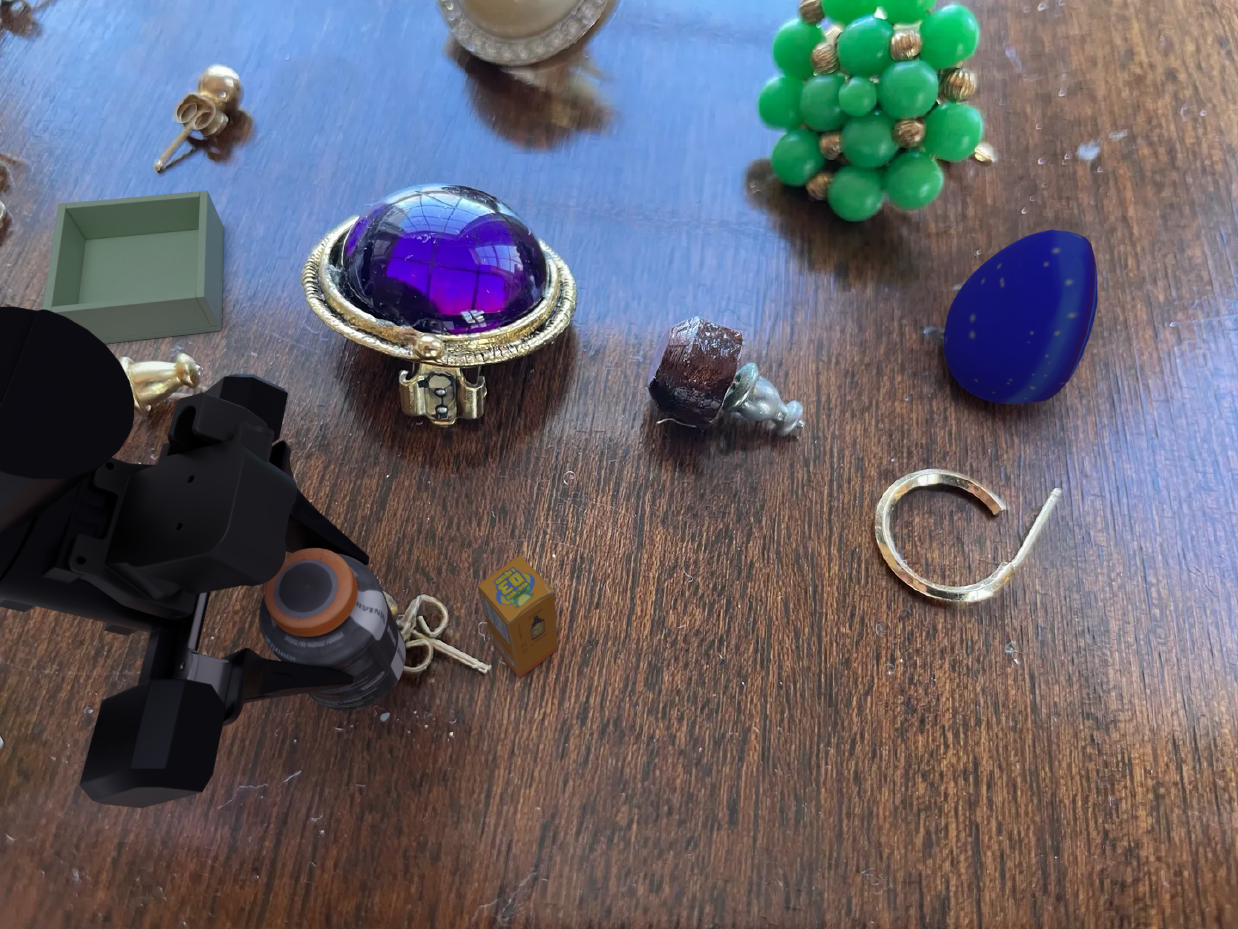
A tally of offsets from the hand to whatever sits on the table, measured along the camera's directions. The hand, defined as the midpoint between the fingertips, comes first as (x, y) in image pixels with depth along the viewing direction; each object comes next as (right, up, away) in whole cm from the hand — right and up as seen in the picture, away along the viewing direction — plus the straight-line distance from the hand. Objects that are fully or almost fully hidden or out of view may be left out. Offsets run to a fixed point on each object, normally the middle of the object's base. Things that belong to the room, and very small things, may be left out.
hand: (357, 621), depth 44 cm
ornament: (+43, +15, +27) cm, 53 cm away
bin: (-25, +22, +26) cm, 42 cm away
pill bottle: (-2, -3, +6) cm, 7 cm away
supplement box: (+7, -4, +14) cm, 16 cm away
